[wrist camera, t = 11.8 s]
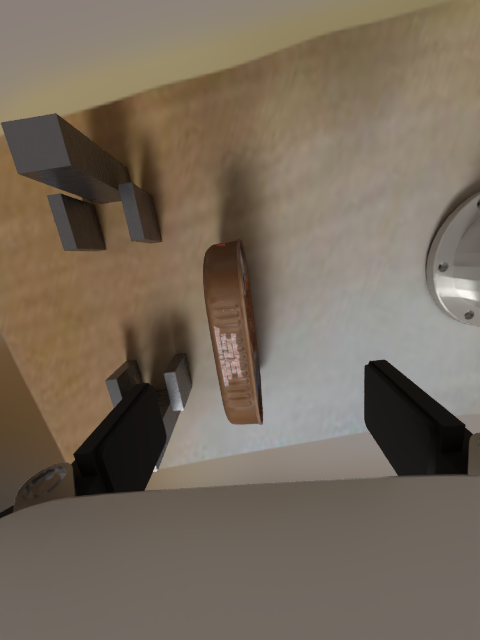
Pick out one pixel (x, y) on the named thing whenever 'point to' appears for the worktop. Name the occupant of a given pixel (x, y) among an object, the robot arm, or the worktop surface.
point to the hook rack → (94, 222)
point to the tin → (233, 331)
